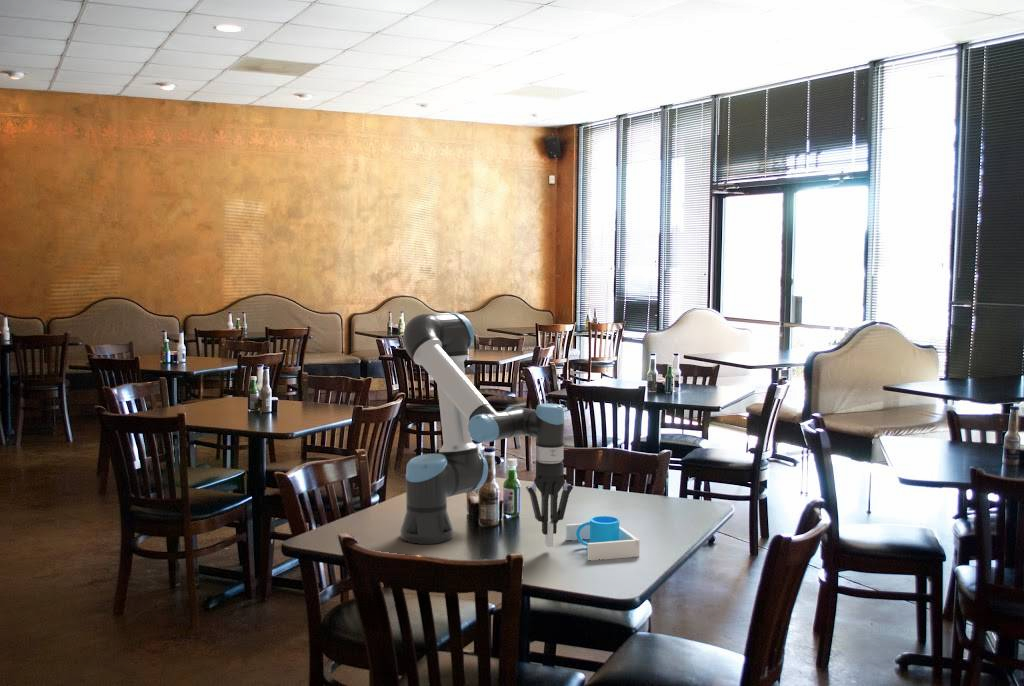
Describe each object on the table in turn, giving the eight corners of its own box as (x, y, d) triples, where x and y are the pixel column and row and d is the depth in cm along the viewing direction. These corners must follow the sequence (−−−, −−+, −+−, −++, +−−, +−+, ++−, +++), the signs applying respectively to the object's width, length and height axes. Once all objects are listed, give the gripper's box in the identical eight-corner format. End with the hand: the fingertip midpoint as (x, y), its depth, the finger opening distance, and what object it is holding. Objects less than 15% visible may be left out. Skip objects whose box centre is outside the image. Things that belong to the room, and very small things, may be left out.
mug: (619, 544, 271) (619, 516, 270) (619, 553, 263) (619, 524, 262) (576, 543, 272) (576, 515, 271) (575, 552, 264) (575, 522, 263)
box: (588, 560, 256) (588, 544, 256) (565, 539, 275) (565, 524, 275) (639, 556, 260) (639, 540, 259) (613, 536, 279) (613, 521, 279)
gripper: (530, 464, 256) (530, 551, 258) (576, 462, 260) (575, 547, 262) (523, 459, 264) (522, 543, 266) (568, 456, 267) (567, 539, 269)
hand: (549, 545), depth 264 cm, fingers closed
